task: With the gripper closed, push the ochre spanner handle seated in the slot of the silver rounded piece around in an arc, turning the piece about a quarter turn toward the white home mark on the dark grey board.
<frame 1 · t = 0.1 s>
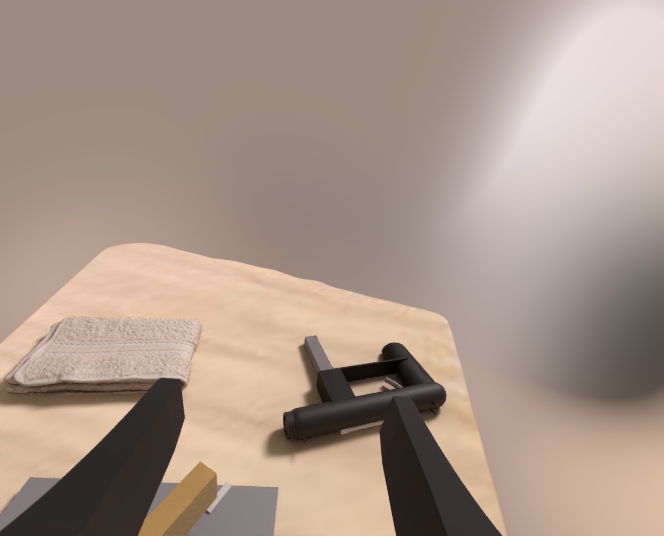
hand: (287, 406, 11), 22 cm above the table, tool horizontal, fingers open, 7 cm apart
door handle: (350, 384, 42), on the table
washcloth: (120, 361, 40), on the table
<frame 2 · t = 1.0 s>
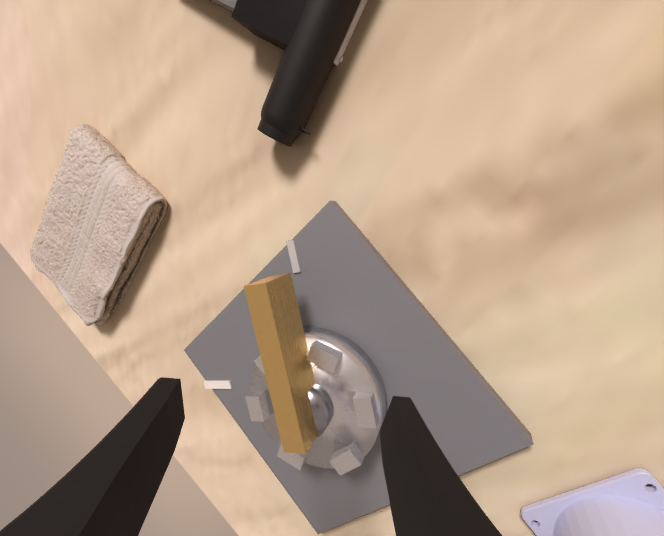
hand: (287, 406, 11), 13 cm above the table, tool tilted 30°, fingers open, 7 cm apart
washcloth: (108, 232, 34), on the table
nut board: (328, 381, 26), on the table
silver rounded piece: (300, 378, 22), point 4 cm above the table, hinge at 0.0°
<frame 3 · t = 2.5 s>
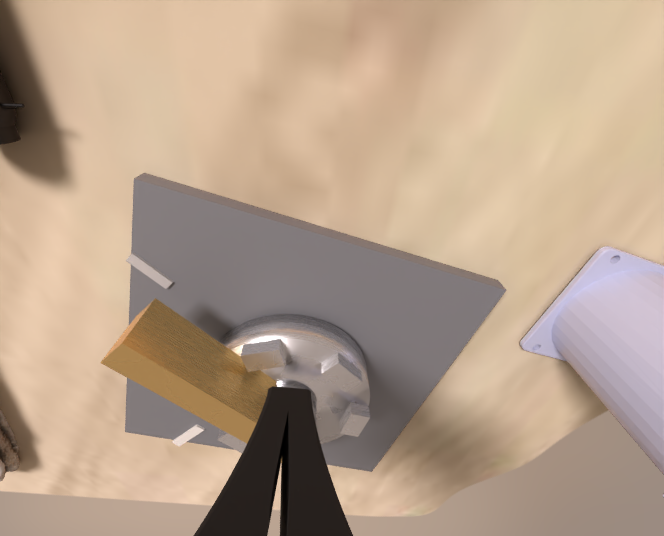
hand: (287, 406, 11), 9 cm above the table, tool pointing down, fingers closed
nut board: (291, 359, 22), on the table
silver rounded piece: (256, 389, 18), point 4 cm above the table, hinge at 0.0°
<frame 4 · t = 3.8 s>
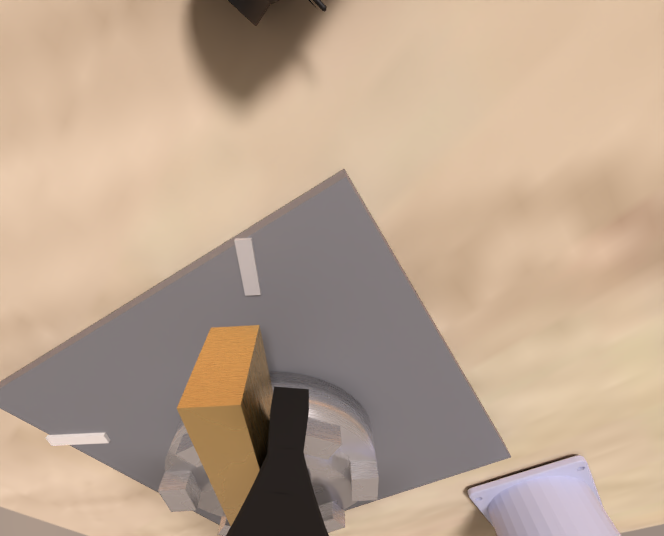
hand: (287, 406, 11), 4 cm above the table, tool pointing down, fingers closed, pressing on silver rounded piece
nut board: (280, 414, 18), on the table
silver rounded piece: (265, 462, 14), point 4 cm above the table, hinge at 1.0°, touching gripper
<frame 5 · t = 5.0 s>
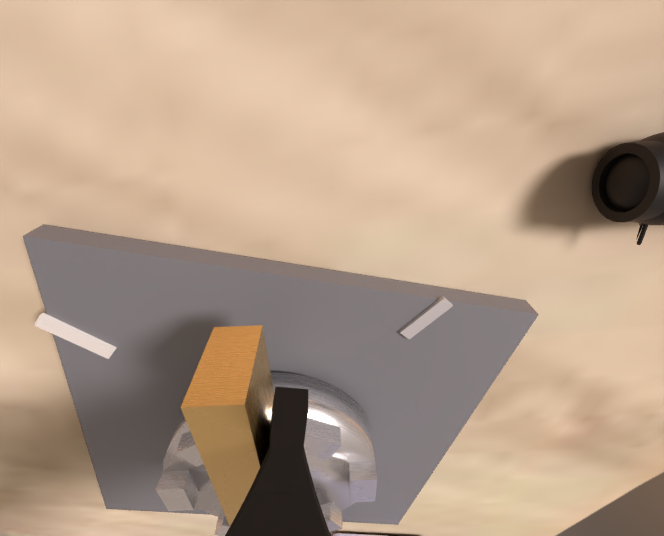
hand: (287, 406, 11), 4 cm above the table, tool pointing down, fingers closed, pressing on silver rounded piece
nut board: (279, 415, 18), on the table
silver rounded piece: (264, 462, 14), point 4 cm above the table, hinge at 42.9°, touching gripper
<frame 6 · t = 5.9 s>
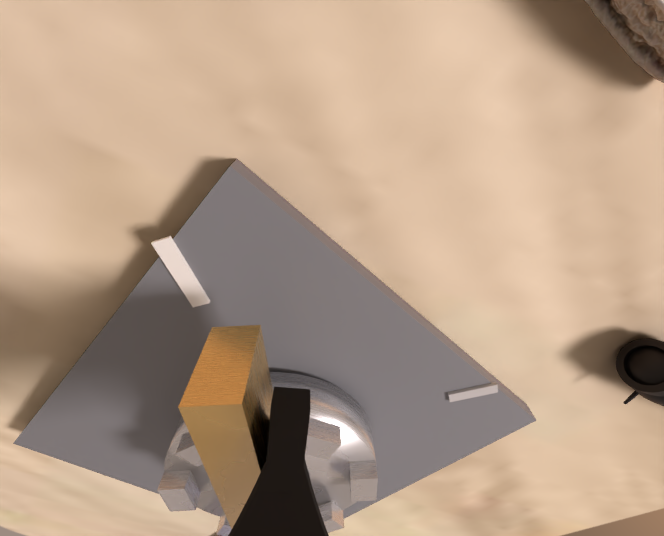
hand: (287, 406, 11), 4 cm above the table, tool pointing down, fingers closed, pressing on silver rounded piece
nut board: (280, 415, 18), on the table
silver rounded piece: (264, 461, 14), point 4 cm above the table, hinge at 75.7°, touching gripper
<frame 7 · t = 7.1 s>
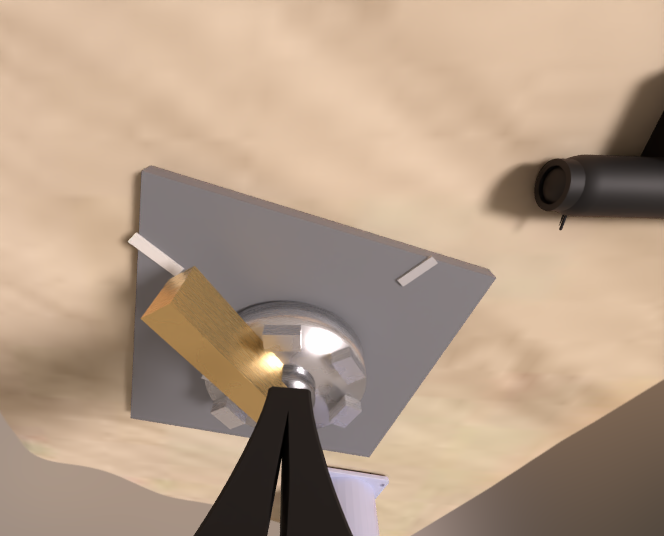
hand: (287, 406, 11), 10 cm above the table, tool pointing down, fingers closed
nut board: (290, 346, 23), on the table
silver rounded piece: (264, 369, 19), point 4 cm above the table, hinge at 77.3°
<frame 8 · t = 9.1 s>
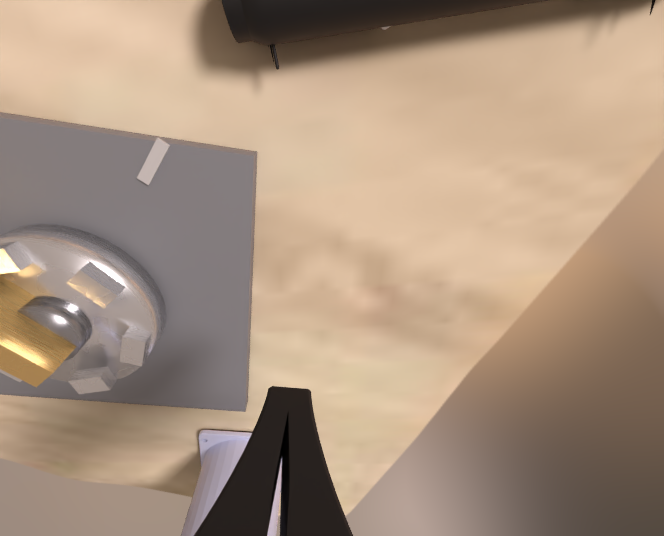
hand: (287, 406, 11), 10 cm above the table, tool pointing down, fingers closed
nut board: (92, 288, 21), on the table
silver rounded piece: (7, 302, 17), point 4 cm above the table, hinge at 77.3°
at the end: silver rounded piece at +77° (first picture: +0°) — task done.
